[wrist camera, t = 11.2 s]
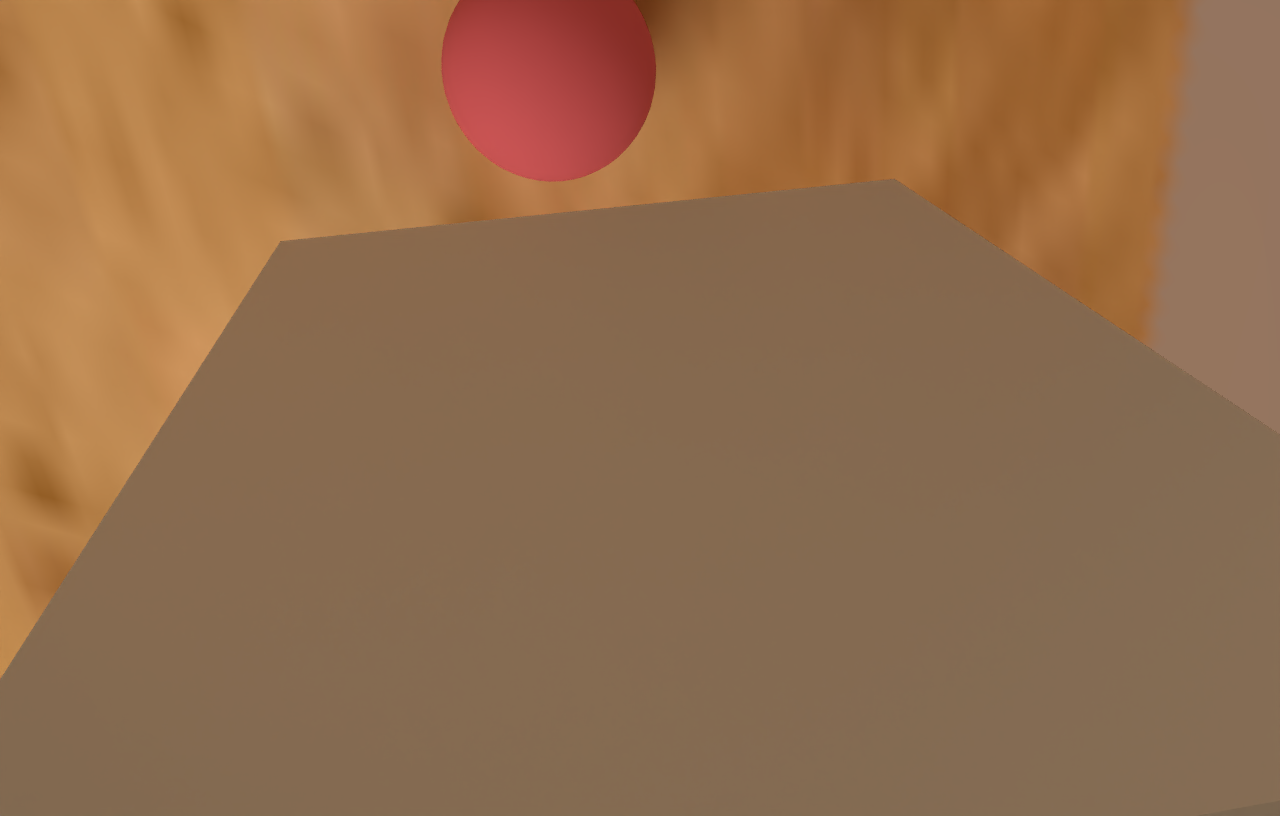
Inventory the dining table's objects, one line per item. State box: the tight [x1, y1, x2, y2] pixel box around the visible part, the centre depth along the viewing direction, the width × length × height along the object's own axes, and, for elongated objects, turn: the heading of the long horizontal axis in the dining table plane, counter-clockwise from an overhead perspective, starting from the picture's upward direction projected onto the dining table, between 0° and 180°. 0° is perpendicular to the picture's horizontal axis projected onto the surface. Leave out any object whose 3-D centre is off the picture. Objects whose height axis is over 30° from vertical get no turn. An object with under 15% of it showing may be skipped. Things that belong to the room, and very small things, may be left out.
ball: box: [442, 0, 656, 181], centre depth 21 cm, size 5×5×5 cm
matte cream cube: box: [0, 179, 1280, 816], centre depth 9 cm, size 8×8×9 cm
